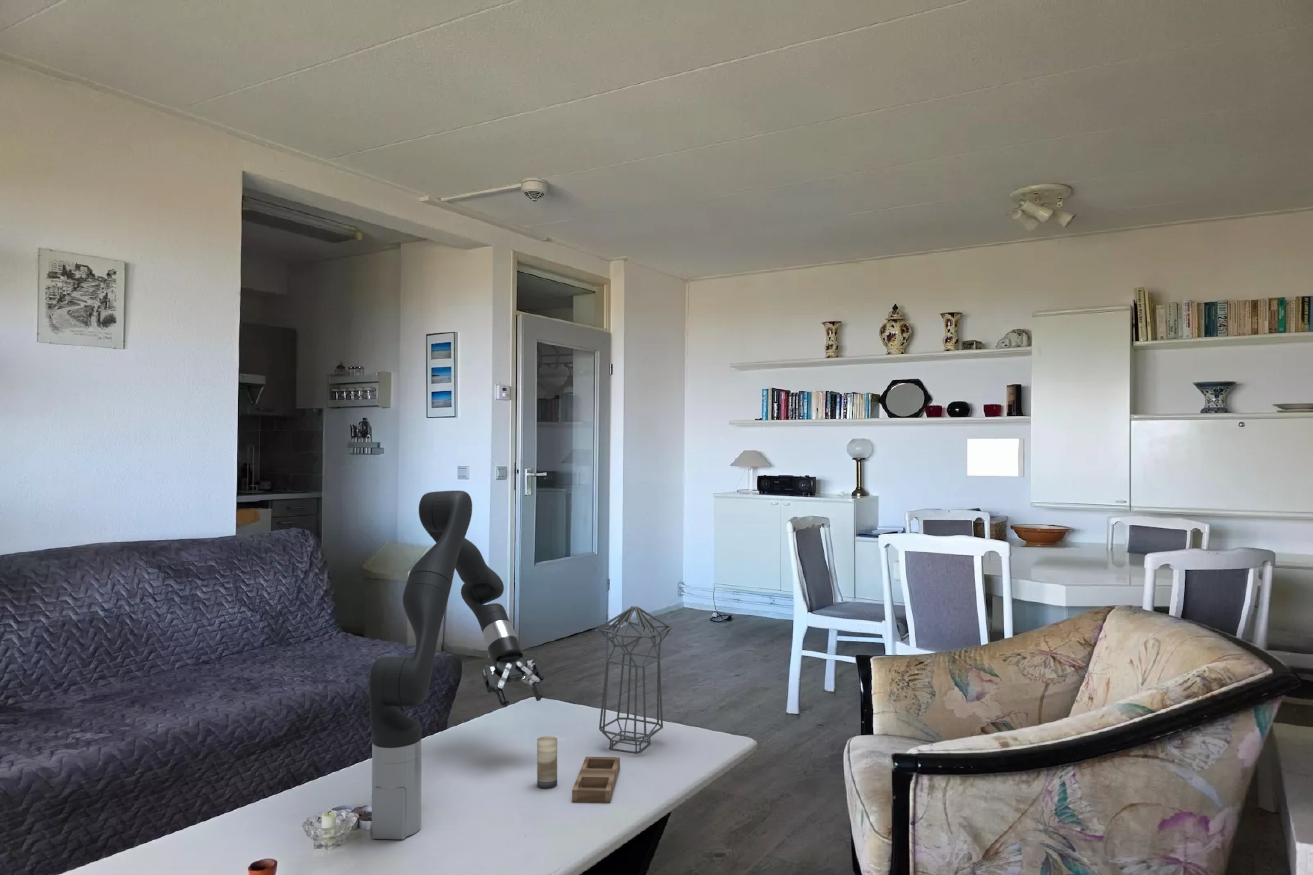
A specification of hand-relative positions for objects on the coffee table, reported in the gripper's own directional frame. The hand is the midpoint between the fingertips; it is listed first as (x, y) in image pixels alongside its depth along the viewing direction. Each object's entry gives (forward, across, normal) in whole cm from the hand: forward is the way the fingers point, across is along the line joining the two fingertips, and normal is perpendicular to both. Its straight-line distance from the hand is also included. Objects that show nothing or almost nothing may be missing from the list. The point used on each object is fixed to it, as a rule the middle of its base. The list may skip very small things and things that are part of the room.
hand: (523, 702), depth 198 cm
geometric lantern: (+12, +30, +10) cm, 34 cm away
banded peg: (+19, 0, +3) cm, 19 cm away
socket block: (+23, +9, -2) cm, 25 cm away
